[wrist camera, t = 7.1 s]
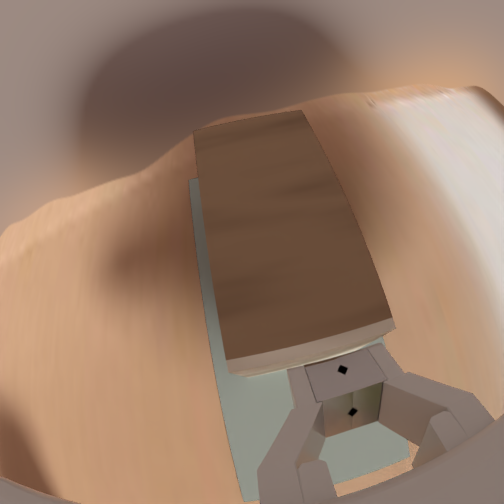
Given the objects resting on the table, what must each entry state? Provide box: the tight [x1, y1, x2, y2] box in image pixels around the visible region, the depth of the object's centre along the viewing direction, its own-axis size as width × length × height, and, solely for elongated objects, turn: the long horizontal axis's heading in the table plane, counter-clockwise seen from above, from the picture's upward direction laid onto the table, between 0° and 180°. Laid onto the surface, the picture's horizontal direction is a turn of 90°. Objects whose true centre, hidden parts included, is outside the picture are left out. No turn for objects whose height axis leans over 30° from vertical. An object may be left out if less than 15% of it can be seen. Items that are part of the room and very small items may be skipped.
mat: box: [189, 178, 410, 502], centre depth 19 cm, size 25×11×1 cm, turn 11°
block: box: [193, 110, 396, 378], centre depth 17 cm, size 7×7×14 cm
